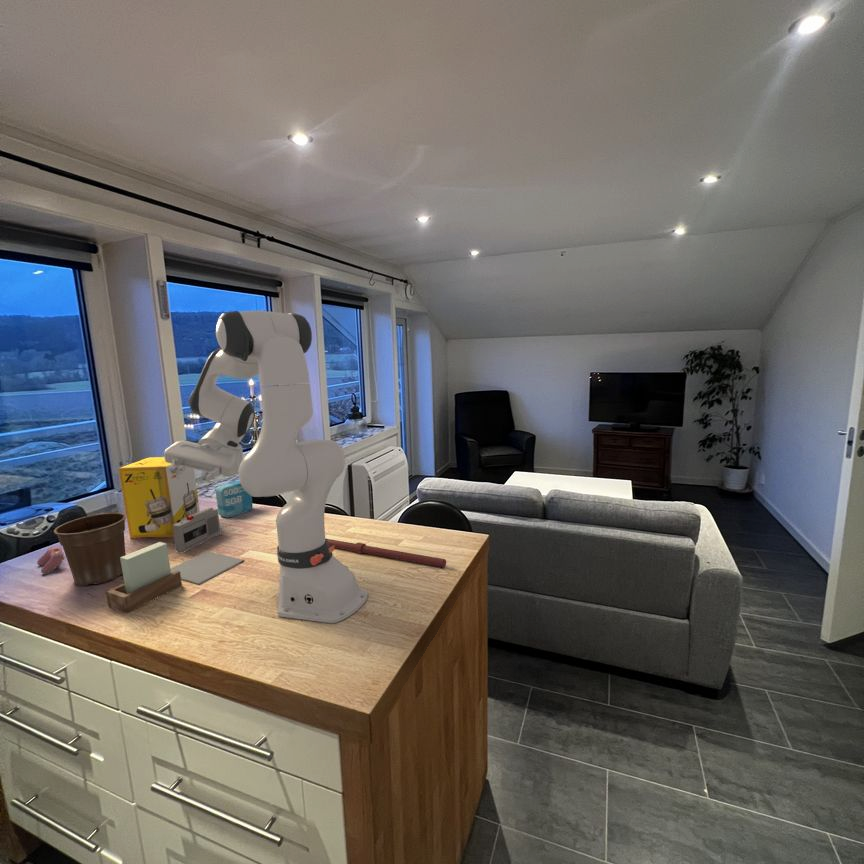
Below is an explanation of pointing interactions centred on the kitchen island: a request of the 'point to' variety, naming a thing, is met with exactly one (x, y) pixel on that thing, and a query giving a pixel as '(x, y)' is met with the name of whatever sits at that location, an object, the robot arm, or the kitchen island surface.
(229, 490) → the teal lettered box
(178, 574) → the walnut box
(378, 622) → the kitchen island surface
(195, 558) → the grey rubber mat
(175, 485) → the packaging box
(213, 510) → the cassette player
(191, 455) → the robot arm
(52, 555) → the pink lobed lump
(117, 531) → the plant pot
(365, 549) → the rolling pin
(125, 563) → the cover plate
